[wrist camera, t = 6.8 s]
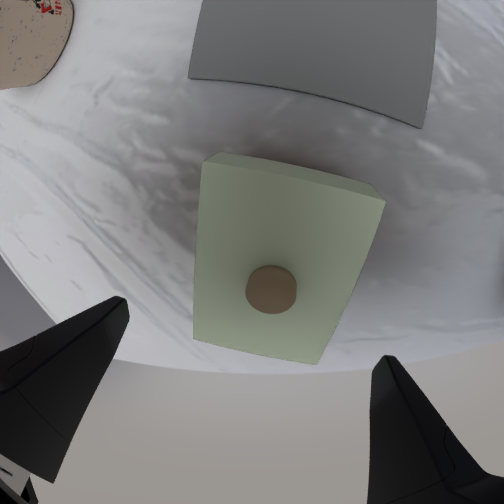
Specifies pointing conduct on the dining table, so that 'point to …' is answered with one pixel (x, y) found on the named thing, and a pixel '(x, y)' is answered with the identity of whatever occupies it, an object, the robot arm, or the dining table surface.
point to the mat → (324, 50)
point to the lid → (277, 254)
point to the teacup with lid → (31, 39)
